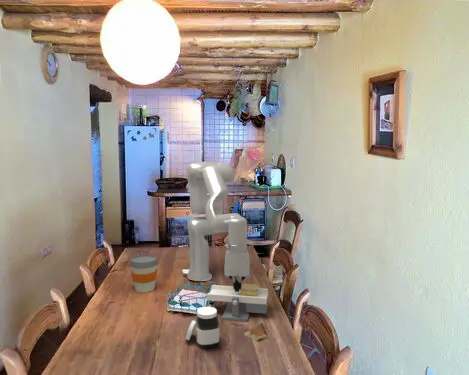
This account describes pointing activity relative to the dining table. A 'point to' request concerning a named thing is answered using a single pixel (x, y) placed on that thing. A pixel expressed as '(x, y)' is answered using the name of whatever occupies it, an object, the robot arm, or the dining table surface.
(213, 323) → the spread jar
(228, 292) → the beam
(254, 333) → the shard
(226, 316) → the balance stand
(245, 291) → the block
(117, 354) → the dining table surface
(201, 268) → the robot arm
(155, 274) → the reusable coffee cup
